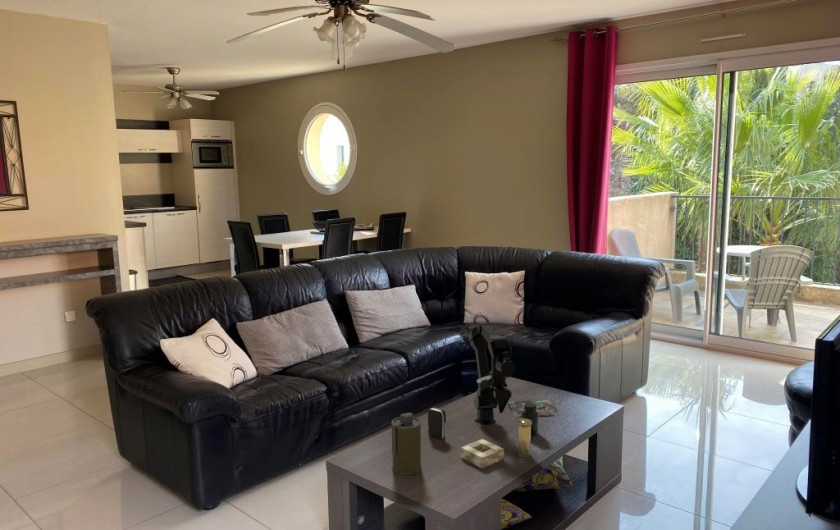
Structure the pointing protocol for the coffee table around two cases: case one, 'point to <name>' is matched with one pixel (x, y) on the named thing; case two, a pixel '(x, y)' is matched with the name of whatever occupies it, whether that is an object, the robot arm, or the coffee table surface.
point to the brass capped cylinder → (524, 437)
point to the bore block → (482, 453)
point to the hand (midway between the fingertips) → (498, 409)
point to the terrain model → (542, 407)
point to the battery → (436, 422)
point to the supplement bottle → (531, 416)
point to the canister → (406, 444)
